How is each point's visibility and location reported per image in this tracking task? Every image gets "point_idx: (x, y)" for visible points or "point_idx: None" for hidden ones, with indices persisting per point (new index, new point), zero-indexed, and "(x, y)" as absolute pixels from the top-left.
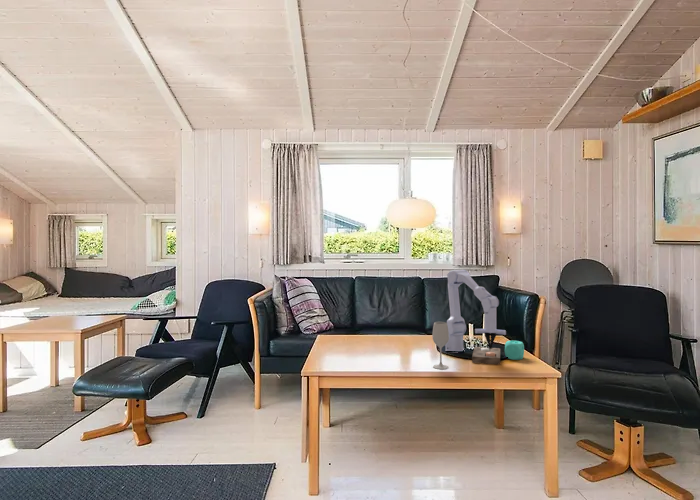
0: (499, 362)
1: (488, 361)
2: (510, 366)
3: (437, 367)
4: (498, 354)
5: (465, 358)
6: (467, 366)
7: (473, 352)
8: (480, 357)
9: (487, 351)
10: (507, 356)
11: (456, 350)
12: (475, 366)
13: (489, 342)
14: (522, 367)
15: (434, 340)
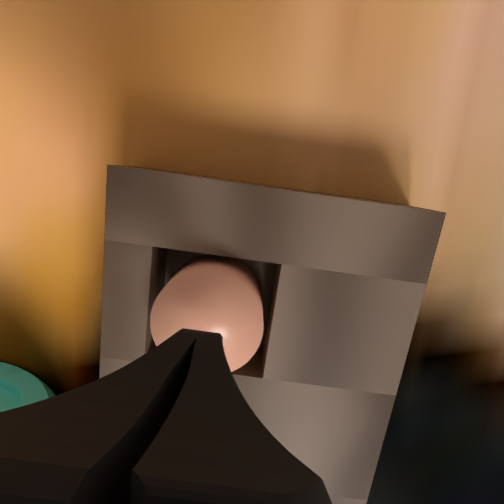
0: (134, 167)
1: (249, 183)
2: (36, 104)
3: None
4: (119, 344)
5: (445, 348)
6: (493, 28)
7: (391, 396)
8: (342, 198)
9: None
10: (45, 391)
11: None
12: (403, 43)
13: (196, 377)
14: None
15: None
